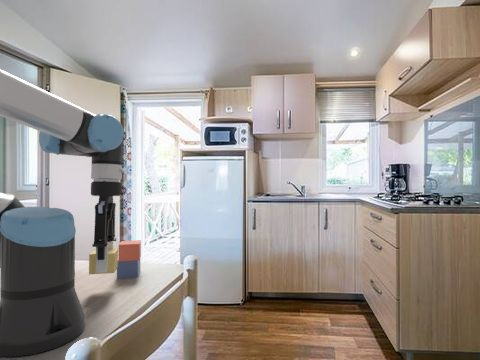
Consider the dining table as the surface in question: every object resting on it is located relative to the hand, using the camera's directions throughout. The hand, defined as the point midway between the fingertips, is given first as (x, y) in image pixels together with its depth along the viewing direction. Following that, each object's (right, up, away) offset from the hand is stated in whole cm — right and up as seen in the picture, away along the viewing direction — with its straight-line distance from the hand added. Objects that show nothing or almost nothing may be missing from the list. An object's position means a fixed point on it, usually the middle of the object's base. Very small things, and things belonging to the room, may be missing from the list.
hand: (104, 268), depth 83 cm
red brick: (+2, -1, +15) cm, 15 cm away
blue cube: (+1, -6, +14) cm, 15 cm away
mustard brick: (0, -1, 0) cm, 1 cm away
